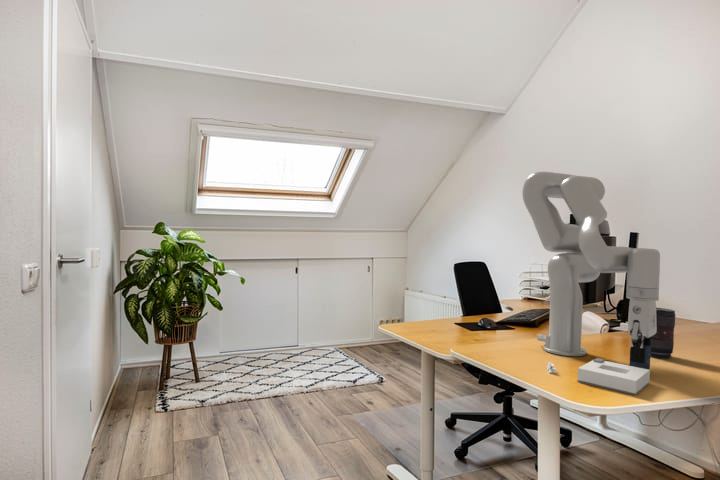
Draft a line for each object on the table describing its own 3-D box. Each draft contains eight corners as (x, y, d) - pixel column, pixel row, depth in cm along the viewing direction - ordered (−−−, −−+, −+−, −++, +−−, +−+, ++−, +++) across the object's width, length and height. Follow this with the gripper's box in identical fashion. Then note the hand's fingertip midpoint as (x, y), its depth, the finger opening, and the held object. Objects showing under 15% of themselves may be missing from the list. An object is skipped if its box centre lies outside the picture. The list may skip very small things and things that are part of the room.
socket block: (577, 381, 116) (578, 366, 116) (594, 371, 125) (595, 357, 125) (635, 395, 107) (635, 378, 106) (649, 383, 116) (650, 367, 116)
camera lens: (678, 360, 138) (680, 311, 138) (649, 358, 140) (651, 310, 140) (666, 353, 146) (668, 307, 146) (638, 351, 148) (640, 306, 148)
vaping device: (645, 377, 121) (647, 332, 121) (627, 371, 126) (628, 328, 126) (652, 376, 122) (653, 331, 122) (633, 370, 127) (635, 327, 127)
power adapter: (545, 372, 125) (545, 360, 125) (554, 372, 125) (554, 361, 125) (549, 375, 122) (549, 363, 122) (559, 375, 122) (559, 364, 122)
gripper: (650, 298, 115) (647, 369, 115) (665, 292, 127) (663, 357, 127) (617, 294, 120) (615, 363, 121) (635, 289, 132) (633, 352, 132)
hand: (640, 359), depth 124 cm, fingers open, 4 cm apart
